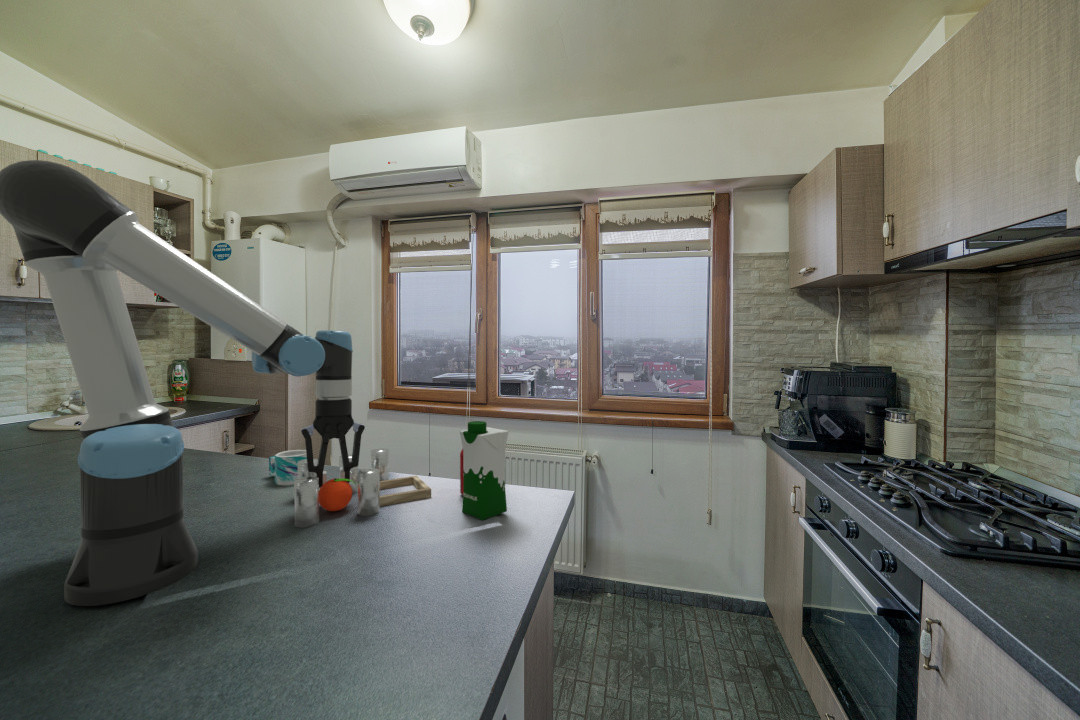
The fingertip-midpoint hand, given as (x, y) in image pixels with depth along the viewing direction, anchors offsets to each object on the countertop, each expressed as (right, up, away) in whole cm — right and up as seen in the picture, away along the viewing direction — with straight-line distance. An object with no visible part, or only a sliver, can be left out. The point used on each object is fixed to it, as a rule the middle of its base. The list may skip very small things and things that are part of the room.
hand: (333, 499), depth 99 cm
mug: (-20, -1, +17) cm, 26 cm away
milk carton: (+36, -2, -4) cm, 36 cm away
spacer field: (+2, -1, +3) cm, 4 cm away
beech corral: (+12, -1, +7) cm, 14 cm away
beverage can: (+31, -1, +7) cm, 32 cm away
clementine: (+3, -1, -4) cm, 5 cm away
